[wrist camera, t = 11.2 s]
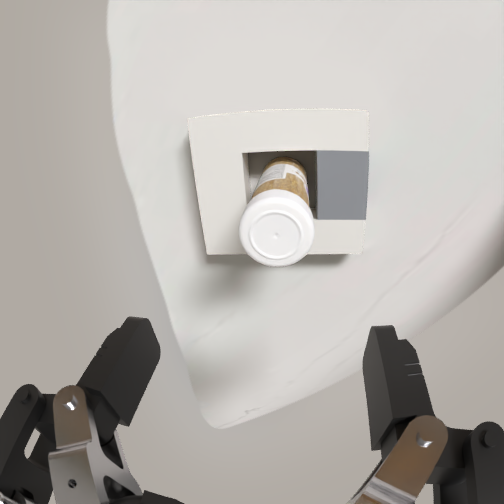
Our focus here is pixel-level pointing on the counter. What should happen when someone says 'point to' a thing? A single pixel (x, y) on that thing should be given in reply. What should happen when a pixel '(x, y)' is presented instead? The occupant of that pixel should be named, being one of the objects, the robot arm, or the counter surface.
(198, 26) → the counter surface
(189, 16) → the counter surface
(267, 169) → the sprinkles bottle
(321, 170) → the housing
